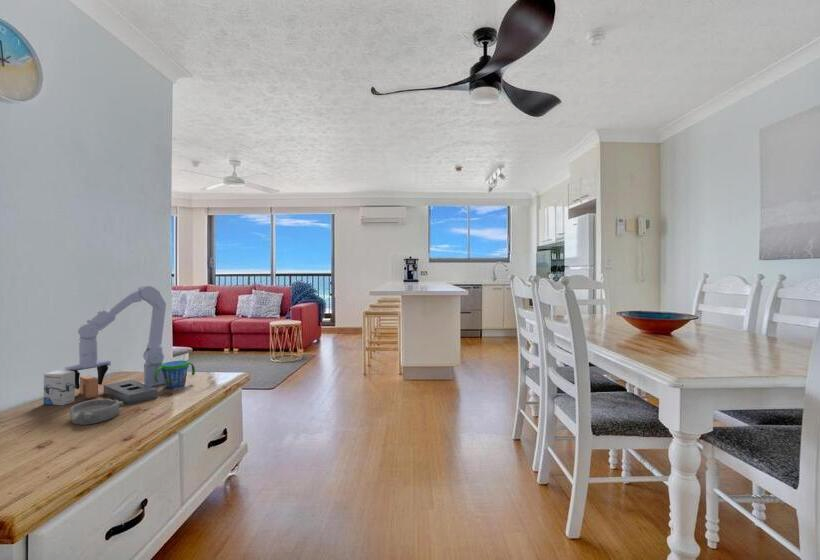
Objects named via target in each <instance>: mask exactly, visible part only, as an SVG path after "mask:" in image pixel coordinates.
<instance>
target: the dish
mask: <svg viewBox="0 0 820 560" xmlns="http://www.w3.org/2000/svg"><path fill="white" fill-rule="evenodd" d="M123 405H124V402H122V401H119V400H117V399H111V398H98V399H90V400H86V401H82V402H78V403H76V404H74V405H73V406H71V407H70V409H69V418H70V420H71V423H72V424H75V425H79V426H83V425H84V426H85V425H93V424H98V423H102V422H105V421H108V420H110V419H111V420H112V419H113V418H115V417H116V416H117V415H118V414H119V413H120V412H119V411H120V409H121V408H122V407H123Z"/></svg>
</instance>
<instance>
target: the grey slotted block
mask: <svg viewBox="0 0 820 560" xmlns="http://www.w3.org/2000/svg"><path fill="white" fill-rule="evenodd" d="M142 383H143V382H139V381H136V380H134V379H127V380H123V381H118V382H112V383H108V384H103V394H104V395H106V396H108V397H111V398H112V399H114V400H118V401H119V402H120V401H122V402H123V404H126V405H133V404H137V403H141V402H147V401H149V400H153V399H157V398H158V388H156V387H154V386H151V387H150V386H148V385H145V384H142Z"/></svg>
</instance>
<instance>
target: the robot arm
mask: <svg viewBox="0 0 820 560" xmlns="http://www.w3.org/2000/svg"><path fill="white" fill-rule="evenodd" d="M143 301H145V302H147V304H149V305H150V306H151V308H152V311H151V320H150V327H149V328H150V329H149V338H148V343H147V344H146V349H145V351H144V352H143V355H142V356H143V360H145V362H144V363H143V382H141V383H142V384H145V385H148V386H150V387H155V386H160V385H164V384H165V381H164V375H163V372H162V369H160V370H159V371H158V372H157V380H158V382H156V381H155V378H154V376H155V372H156V370H157V369H158V368H159V367H160V366H161V365H162V364H163V363H166V362H167V361H165V362H164V359H165V355H164V353H163V345H162V342H163V332H164V325H165V319H166V318H165V317H166V315H165V314H166V308H167V303H166V301H165V299H164V297H163V296H162V294H161V293H160V290H158V289H157V288H156V287H154V286H152V285H142V286H139V287H138V288H137V289H135V290H133V291H132V292H130V293H129V294H127V295H126V296H125V297H124V298H122V299H121V300H120V301H119V302H117V303H116V304H115V305H114V306H112V307H111V308H110V309H103V310H102V311H101V310H99V311H98V312H97V315H95V316H94V317H92V318H91V319H90V320H89V319H88V320H86V323H84V324H82V325H80V326H79V328H78V330H77V332H78V334H79V339H78V340H79V343H78V348H79V350H78V352H79V353H78V354H79V360H78V361H79V364H74V365H70V366H65V367H64V371H74V372H75V389H76V390H80V377H81V373H80V372H79V371H83V370H89V369H96V370H97V379H98V386H100V385H101V386H102V385H103V381H104V378H105V375H106V373H107V371H108V370H109V367H111V366H112V365H111V363H112V361H111V360H102V361H101V360H100V361H98V339H97V336H98V334H99V331H102V330H104V329H105V328H106V327H108V325H110V324H111V323H113V322H114V321H116V317H117V316H116V315H118V314H120V313H121V312H123V310H125V309H127V308H128V307H129V306H131V305H132V304H133V303H141V302H143Z"/></svg>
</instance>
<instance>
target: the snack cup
mask: <svg viewBox="0 0 820 560" xmlns="http://www.w3.org/2000/svg"><path fill="white" fill-rule="evenodd" d="M165 362H166V363H164V362H163V364H162V365H161V366H160V367H159V368H158V369H157V370H156V372H155V376H154V378H155V381H156V382H158V380H157V372H158V371H159V370H160V369H162V372H163V375H164V381H165V388H169V389H176V387H177V388H180V387H183V386H185V385H186V381H187V374H188V368H189V365H191V375H192V376H194V375H195V373H196V367H195V365H194V364H193V363H192V362H189V361H188V360H172V361H168V362H167V361H165Z"/></svg>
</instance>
